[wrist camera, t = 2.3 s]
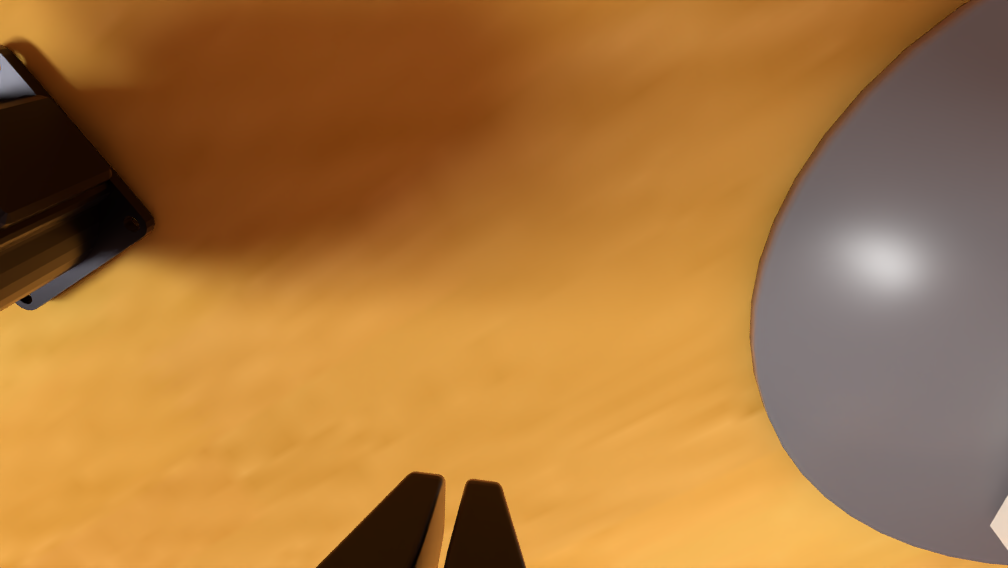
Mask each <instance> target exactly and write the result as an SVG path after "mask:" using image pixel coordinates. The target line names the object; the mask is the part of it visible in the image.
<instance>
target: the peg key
mask: <svg viewBox="0 0 1008 568" xmlns="http://www.w3.org/2000/svg"><path fill="white" fill-rule="evenodd" d="M990 526H991V528H992V529H993V531H994V532H995V533H996V535H997V536H998V537H999V539H1000V540H1001V542H1002V543H1003V544H1004V546H1005V547H1006V548H1007V550H1008V496H1007V497H1006V499H1005V501H1004V502H1003V504H1002V506H1001V508H1000V509H999V511H998V513H997V514H996V516H995V518H994V519H993V521H992V523H991V525H990Z"/></svg>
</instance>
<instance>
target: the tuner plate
mask: <svg viewBox="0 0 1008 568" xmlns="http://www.w3.org/2000/svg"><path fill="white" fill-rule="evenodd" d="M750 345H751V354H752V362H753V371H754V375H755V378H756V382H757V385H758V389H759V392H760V395H761V399H762V402H763V405H764V407H765V410H766V412H767V415H768V417H769V419H770V421H771V423H772V426H773V428H774V430H775V432H776V434H777V436H778V438H779V440H780V442H781V444H782V446H783V448H784V449H785V451H786V452H787V453H788V455H789V456H790V458H791V459H792V460H793V462H794V463H795V465H796V466H797V467H798V469H799V470H800V472H801V473H802V474H803V475H804V476H805V477H806V478H807V479H808V480H809V481H810V482H811V483H812V484H813V485H814V486H815V487H816V488H817V489H818V490H819V491H820V492H821V493H822V494H823V495H824V496H825V497H826V498H827V499H829V500H830V501H831V502H833V503H834V504H835V505H837V506H838V507H839V508H841V509H842V510H843V511H845V512H846V513H847V514H849V515H850V516H851V517H853V518H855V519H857V520H859V521H860V522H862V523H864V524H866V525H868V526H869V527H871V528H873V529H875V530H877V531H878V532H880V533H882V534H885V535H887V536H890V537H892V538H895V539H897V540H900V541H902V542H905V543H907V544H909V545H912V546H915V547H918V548H922V549H925V550H929V551H932V552H936V553H939V554H943V555H946V556H950V557H955V558H961V559H967V560H972V561H978V562H983V563H990V564H1002V565H1008V550H1007V548H1006V547H1005V546H1004V544H1003V543H1002V542H1001V540H1000V539H999V537H998V536H997V535H996V533H995V532H994V531H993V529H992V528H991V526H990V525H991V523H992V521H993V519H994V518H995V516H996V514H997V513H998V511H999V509H1000V508H1001V506H1002V504H1003V502H1004V501H1005V499H1006V497H1007V496H1008V0H970V1H969V2H967V3H966V4H964V5H962V6H961V7H959V8H958V9H956V10H955V11H954V12H953V13H951V14H950V15H949V16H947V17H946V18H945V19H944V20H942V21H941V22H940V23H938V24H937V25H936V26H935V27H933V28H932V29H931V30H929V31H928V32H927V33H926V34H924V35H923V36H922V37H920V38H919V39H918V40H917V41H915V42H914V43H913V44H911V45H910V46H909V47H908V48H906V49H905V50H904V51H903V52H902V53H901V54H900V55H899V56H898V57H897V58H896V59H895V60H894V61H893V62H892V63H891V64H890V65H888V66H887V67H886V68H885V69H884V70H883V71H882V72H881V73H880V74H879V75H878V76H877V77H876V78H875V79H874V80H873V81H872V82H871V83H870V84H869V85H868V86H867V87H865V88H864V89H863V90H862V91H861V92H860V94H859V95H858V96H857V97H856V98H855V100H854V101H853V102H852V103H851V104H850V105H849V107H848V108H847V109H846V110H845V111H844V113H843V114H842V115H841V116H840V117H839V118H838V120H837V121H836V122H835V123H834V124H833V125H832V127H831V128H830V129H829V130H828V131H827V133H826V134H825V135H824V136H823V138H822V139H821V141H820V142H819V144H818V145H817V147H816V148H815V150H814V151H813V153H812V154H811V156H810V157H809V159H808V160H807V162H806V163H805V165H804V166H803V168H802V169H801V171H800V172H799V174H798V175H797V177H796V178H795V180H794V182H793V184H792V186H791V188H790V190H789V192H788V194H787V196H786V198H785V200H784V202H783V204H782V206H781V208H780V210H779V212H778V214H777V216H776V217H775V219H774V222H773V224H772V227H771V230H770V233H769V236H768V239H767V241H766V244H765V247H764V250H763V253H762V256H761V258H760V261H759V266H758V271H757V276H756V280H755V285H754V290H753V295H752V300H751V320H750Z"/></svg>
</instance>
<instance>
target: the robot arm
mask: <svg viewBox="0 0 1008 568" xmlns="http://www.w3.org/2000/svg"><path fill="white" fill-rule="evenodd" d="M0 67H1V70H0V311H2V310H3V309H5V308H7V307H8V306H10V305H12V304H14V303H16V304H17V305H19V306H20V307H21V308H24V309H26V310H34V309H37V308H38V307H40V306H42V305H43V304H45V303H46V302H48V301H49V300H51V299H52V298H54V297H55V296H57V295H58V294H60V293H61V292H63V291H64V290H66V289H67V288H69V287H70V286H72V285H73V284H75V283H76V282H78V281H79V280H81V279H82V278H84V277H85V276H87V275H88V274H90V273H91V272H93V271H94V270H96V269H97V268H99V267H100V266H101V265H103V264H104V263H106V262H107V261H109V260H110V259H112V258H113V257H115V256H116V255H118V254H119V253H121V252H122V251H124V250H125V249H127V248H128V247H130V246H131V245H133V244H134V243H136V242H137V241H139V240H140V239H142V238H143V237H145V236H146V235H148V234H149V233H151V232H152V230H153V229H154V225H155V222H154V218H153V216H152V215H151V213H150V212H149V211H148V210H147V208H146V207H145V206H144V205H143V204H142V203H141V201H140V200H139V199H138V198H137V197H136V196H135V194H134V193H133V192H132V191H131V190H130V189H129V187H128V186H127V185H126V184H125V183H124V182H123V180H122V179H121V178H120V177H119V176H118V175H117V173H116V172H115V171H114V170H113V169H112V168H111V166H110V165H109V164H108V163H107V162H106V161H105V159H104V158H103V157H102V156H101V155H100V154H99V152H98V151H97V150H96V149H95V148H94V147H93V145H92V144H91V143H90V142H89V141H88V140H87V138H86V137H85V136H84V135H83V134H82V133H81V131H80V130H79V129H78V128H77V127H76V126H75V124H74V123H73V122H72V121H71V120H70V119H69V117H68V116H67V115H66V114H65V113H64V112H63V110H62V109H61V108H60V107H59V106H58V105H57V103H56V102H55V101H54V100H53V99H52V98H51V96H50V95H49V94H48V93H47V92H46V91H45V89H44V88H43V87H42V86H41V85H40V84H39V82H38V81H37V80H36V79H35V78H34V77H33V75H32V74H31V73H30V72H29V71H28V70H27V68H26V67H25V66H24V65H23V64H22V63H21V61H20V60H19V59H18V58H17V57H16V56H15V54H14V53H13V52H12V51H10V50H9V49H8V48H6V47H4V46H2V45H0ZM132 217H133V218H134V219H136V220H137V221H138V223H139V226H137V225H135V224H134V222H133V221H132ZM29 294H30V295H29ZM444 519H445V479H444V477H443V476H441V475H439V474H431V473H423V472H412V473H410V474H408V475H407V476H406V477H405V478H404V479H403V480H402V481H401V482H400V483H399V484H398V485H397V486H396V487H395V488H394V489H393V490H392V491H391V492H390V493H389V494H388V495H387V496H386V497H385V498H384V500H383V501H382V502H381V503H380V504H379V505H378V506H377V507H376V508H375V509H374V510H373V511H372V512H371V513H370V514H369V515H368V516H367V517H366V518H365V519H364V520H363V521H362V522H361V523H360V524H359V525H358V526H357V527H356V528H355V529H354V530H353V531H352V532H351V533H350V534H349V535H348V536H347V537H346V538H345V539H344V540H343V541H342V542H341V543H340V544H339V545H338V546H337V547H336V548H335V549H334V550H333V551H332V552H331V553H330V554H329V555H328V556H327V557H326V558H325V559H324V560H323V561H322V562H321V563H320V564H319V565H318V566H317V567H316V568H437V567H438V562H439V556H440V551H441V546H442V540H443V533H444ZM444 568H526V566H525V562H524V559H523V556H522V552H521V549H520V546H519V542H518V539H517V536H516V532H515V529H514V526H513V522H512V519H511V516H510V512H509V509H508V506H507V502H506V499H505V496H504V492H503V489H502V487H501V485H500V484H499V483H498V482H493V481H485V480H477V479H470V480H468V481H467V482H466V484H465V488H464V491H463V495H462V499H461V503H460V506H459V510H458V514H457V518H456V521H455V525H454V529H453V533H452V536H451V540H450V544H449V548H448V551H447V556H446V560H445V565H444Z"/></svg>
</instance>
